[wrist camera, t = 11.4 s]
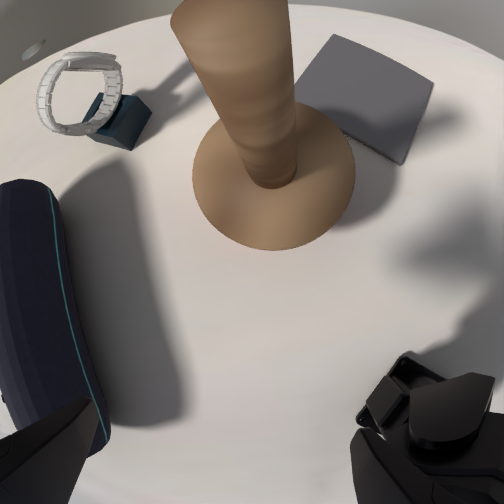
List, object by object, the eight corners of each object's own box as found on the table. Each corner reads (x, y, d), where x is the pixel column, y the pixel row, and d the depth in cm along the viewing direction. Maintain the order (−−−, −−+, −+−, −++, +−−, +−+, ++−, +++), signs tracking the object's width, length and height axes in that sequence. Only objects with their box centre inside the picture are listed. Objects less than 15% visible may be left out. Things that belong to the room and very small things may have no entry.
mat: (431, 84, 20) (432, 82, 19) (400, 165, 20) (401, 163, 19) (333, 36, 22) (333, 33, 21) (282, 104, 22) (282, 101, 21)
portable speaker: (26, 220, 26) (-37, 204, 16) (80, 186, 25) (7, 155, 15) (75, 428, 23) (17, 460, 13) (140, 432, 21) (78, 483, 12)
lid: (377, 147, 16) (450, -1, 4) (302, 282, 16) (318, 299, 4) (247, 87, 18) (198, -58, 6) (169, 201, 18) (21, 115, 6)
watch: (161, 96, 24) (104, 25, 13) (123, 167, 24) (41, 117, 13) (123, 91, 25) (65, 33, 14) (87, 156, 25) (12, 113, 14)
